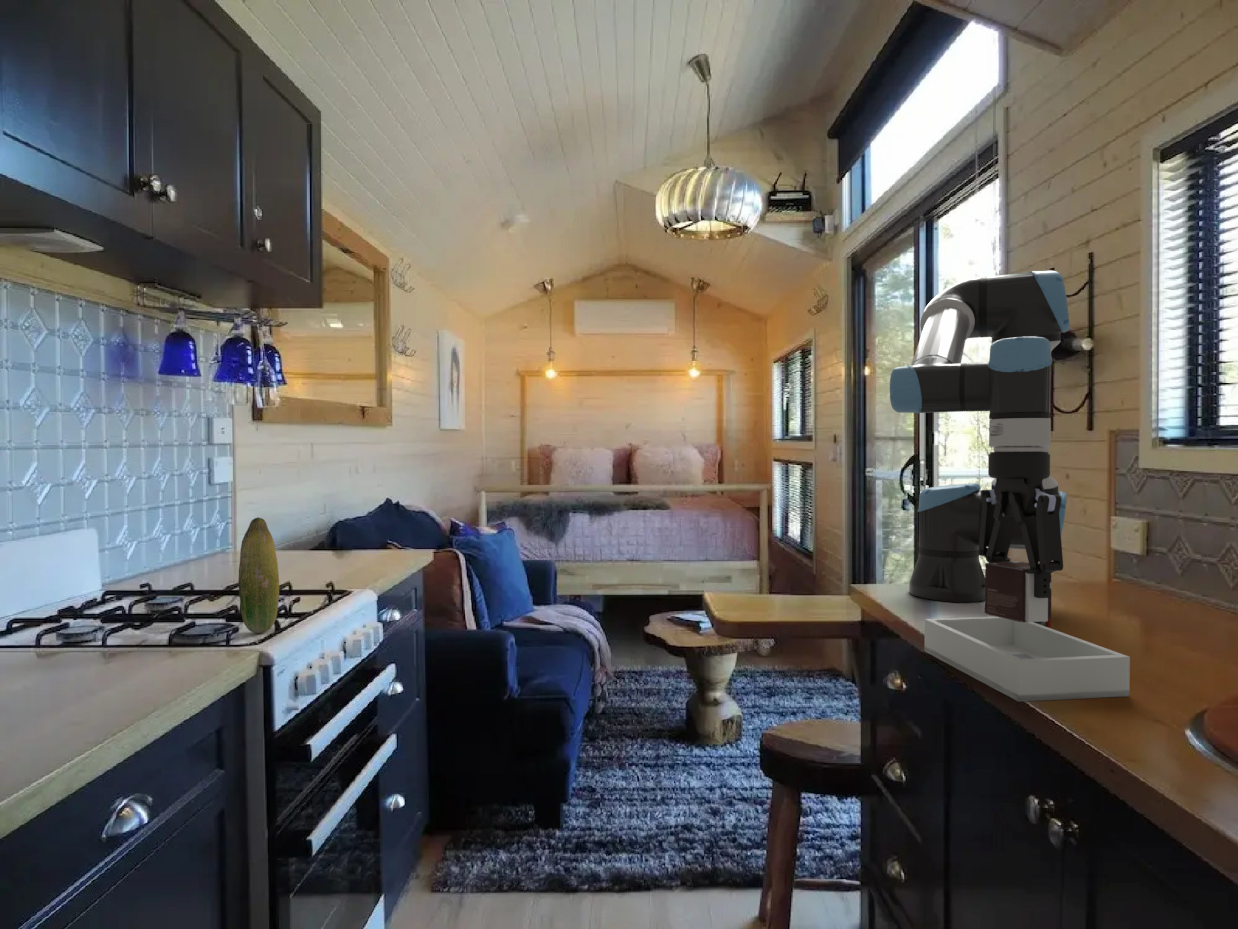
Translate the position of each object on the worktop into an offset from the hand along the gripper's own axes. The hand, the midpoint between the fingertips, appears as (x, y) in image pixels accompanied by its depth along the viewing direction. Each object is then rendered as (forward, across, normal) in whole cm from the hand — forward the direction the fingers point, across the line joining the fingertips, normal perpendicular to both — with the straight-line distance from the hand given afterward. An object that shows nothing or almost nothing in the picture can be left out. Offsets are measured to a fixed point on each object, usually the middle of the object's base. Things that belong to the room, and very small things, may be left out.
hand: (1017, 614), depth 101 cm
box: (+1, 0, 0) cm, 1 cm away
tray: (+8, 0, 0) cm, 8 cm away
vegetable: (+9, -36, -114) cm, 120 cm away
